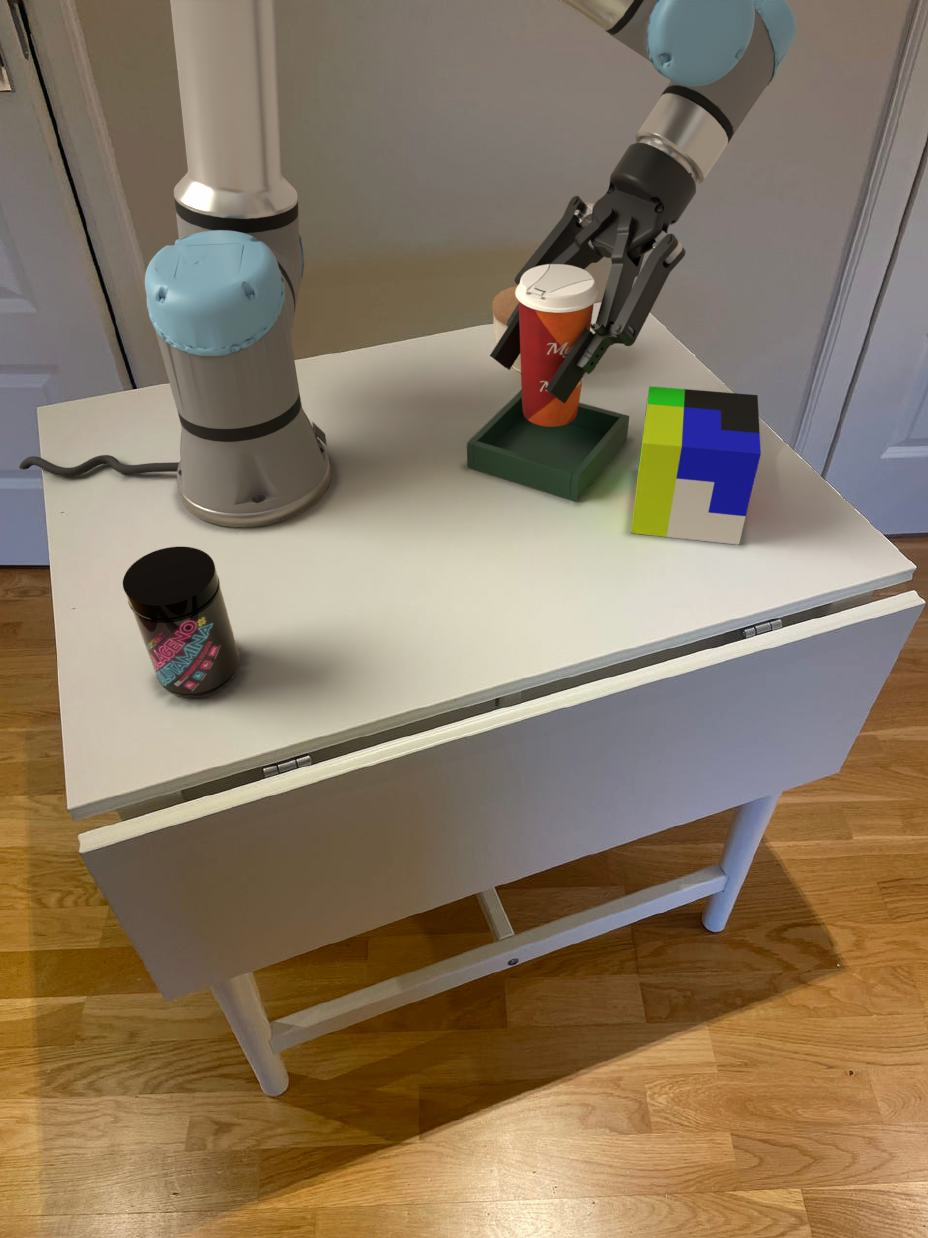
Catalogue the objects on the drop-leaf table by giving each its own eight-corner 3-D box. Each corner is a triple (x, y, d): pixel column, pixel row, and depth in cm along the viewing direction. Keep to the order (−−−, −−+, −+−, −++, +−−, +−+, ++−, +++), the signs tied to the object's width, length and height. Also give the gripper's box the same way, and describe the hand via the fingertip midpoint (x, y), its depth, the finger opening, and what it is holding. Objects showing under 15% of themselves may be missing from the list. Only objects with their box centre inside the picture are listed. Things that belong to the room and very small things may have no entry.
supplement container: (140, 678, 74) (103, 582, 67) (203, 630, 78) (174, 535, 71) (196, 715, 71) (163, 618, 64) (259, 664, 75) (234, 567, 68)
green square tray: (467, 467, 95) (466, 442, 93) (522, 411, 103) (523, 387, 100) (577, 502, 90) (579, 476, 88) (626, 440, 98) (629, 415, 96)
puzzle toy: (738, 544, 85) (760, 453, 78) (630, 533, 86) (642, 442, 79) (737, 483, 92) (757, 394, 85) (637, 473, 93) (649, 386, 87)
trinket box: (475, 370, 110) (474, 294, 103) (522, 335, 116) (524, 262, 109) (551, 394, 105) (555, 317, 99) (596, 356, 111) (602, 282, 105)
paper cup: (557, 441, 89) (566, 306, 79) (497, 414, 93) (498, 281, 83) (603, 408, 93) (617, 275, 83) (543, 383, 97) (550, 253, 87)
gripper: (767, 218, 81) (618, 438, 85) (607, 161, 93) (483, 356, 97) (738, 168, 75) (579, 406, 79) (571, 114, 87) (441, 323, 91)
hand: (526, 378), depth 88 cm, fingers closed on paper cup, 8 cm apart
